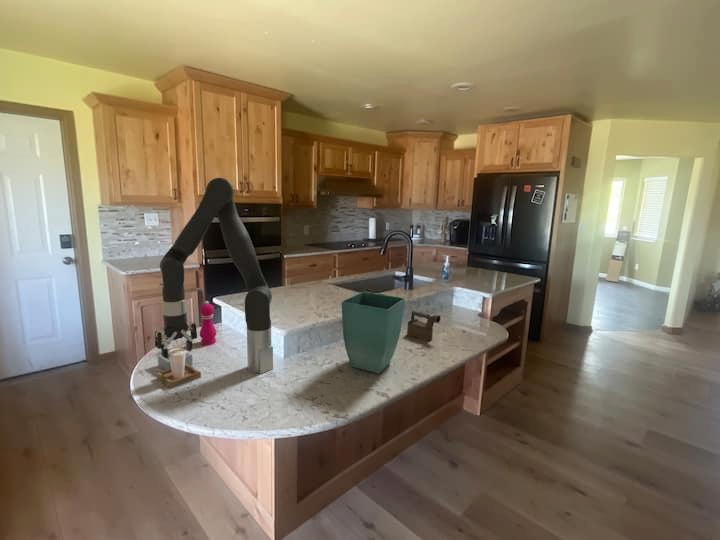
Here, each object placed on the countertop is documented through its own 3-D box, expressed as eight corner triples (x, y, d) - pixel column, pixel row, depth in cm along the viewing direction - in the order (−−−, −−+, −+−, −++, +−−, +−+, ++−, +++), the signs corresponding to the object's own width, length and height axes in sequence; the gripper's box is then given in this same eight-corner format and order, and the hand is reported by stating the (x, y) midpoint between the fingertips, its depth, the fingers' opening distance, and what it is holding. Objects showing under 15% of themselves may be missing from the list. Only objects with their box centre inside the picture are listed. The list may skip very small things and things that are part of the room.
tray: (201, 377, 140) (200, 372, 140) (171, 388, 132) (171, 383, 131) (186, 368, 147) (185, 363, 146) (157, 378, 138) (156, 373, 138)
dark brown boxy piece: (431, 343, 181) (434, 317, 178) (405, 334, 192) (407, 309, 189) (440, 339, 187) (443, 314, 184) (415, 330, 198) (416, 306, 195)
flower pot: (360, 351, 169) (362, 290, 164) (401, 360, 161) (405, 297, 155) (338, 368, 152) (340, 301, 146) (384, 380, 143) (387, 309, 138)
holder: (192, 365, 150) (192, 354, 149) (169, 373, 143) (168, 362, 142) (181, 358, 155) (180, 348, 154) (158, 365, 148) (157, 355, 147)
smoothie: (175, 381, 134) (172, 345, 132) (165, 376, 138) (162, 341, 135) (191, 375, 140) (189, 339, 137) (181, 370, 143) (179, 335, 140)
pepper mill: (213, 346, 169) (211, 303, 165) (197, 345, 169) (195, 302, 165) (219, 340, 176) (217, 299, 172) (204, 339, 176) (202, 298, 172)
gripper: (159, 318, 126) (162, 363, 129) (199, 309, 137) (201, 351, 141) (149, 314, 131) (152, 357, 134) (188, 305, 142) (191, 345, 145)
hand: (177, 354), depth 137 cm, fingers open, 8 cm apart
